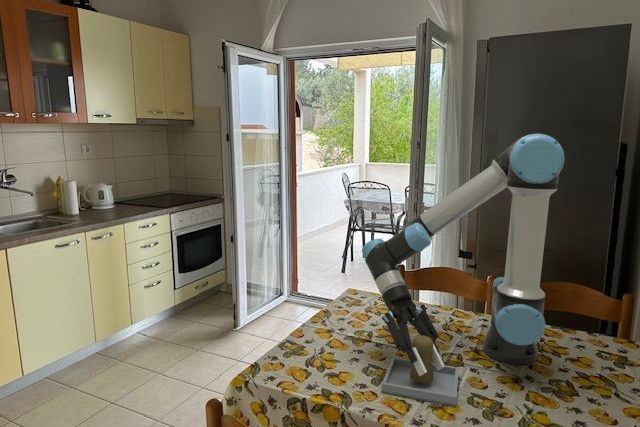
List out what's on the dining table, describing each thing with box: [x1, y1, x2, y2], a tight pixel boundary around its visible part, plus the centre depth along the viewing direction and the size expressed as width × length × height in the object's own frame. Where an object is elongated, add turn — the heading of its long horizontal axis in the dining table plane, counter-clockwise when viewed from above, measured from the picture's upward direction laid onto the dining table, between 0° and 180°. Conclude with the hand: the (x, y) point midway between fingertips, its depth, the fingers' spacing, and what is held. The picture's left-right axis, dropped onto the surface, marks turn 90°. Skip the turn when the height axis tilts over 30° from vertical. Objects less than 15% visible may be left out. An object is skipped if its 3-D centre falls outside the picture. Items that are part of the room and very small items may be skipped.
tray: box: [381, 356, 460, 408], centre depth 115 cm, size 18×15×2 cm
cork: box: [410, 334, 434, 383], centre depth 114 cm, size 6×6×11 cm
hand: (432, 371), depth 111 cm, fingers closed on cork, 5 cm apart
